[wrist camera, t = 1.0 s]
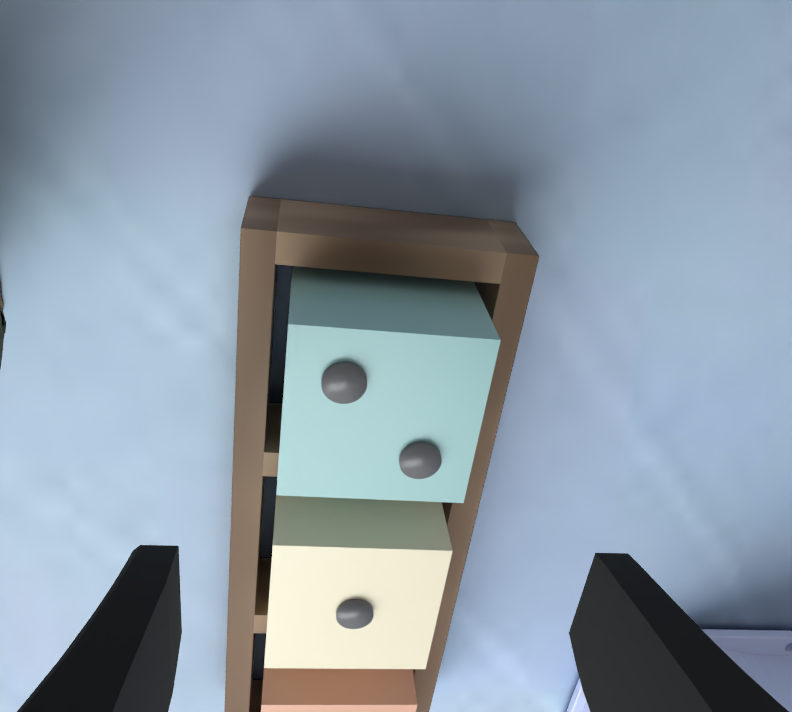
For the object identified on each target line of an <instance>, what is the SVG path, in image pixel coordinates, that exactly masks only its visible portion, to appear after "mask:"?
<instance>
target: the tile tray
mask: <svg viewBox="0 0 792 712" xmlns="http://www.w3.org/2000/svg"><path fill="white" fill-rule="evenodd" d="M538 259H539V255H538V254H537V252H536V251H535V249H534V248H533V247H532V245H531V244H530V242H529V241H528V239H527V238H526V237H525V235H524V234H523V232H522V231H521V230H520V228H519V227H518V225H517V224H516V223H515V222H505V221H495V220H485V219H475V218H465V217H455V216H445V215H435V214H425V213H415V212H405V211H395V210H385V209H375V208H365V207H355V206H345V205H335V204H325V203H315V202H305V201H295V200H285V199H275V198H265V197H255V196H249V198H248V202H247V206H246V210H245V214H244V218H243V222H242V226H241V238H240V268H239V298H238V328H237V357H236V387H235V417H234V447H233V477H232V507H231V537H230V566H229V596H228V626H227V656H226V686H225V712H261V703H262V689H263V680H252V677H253V661H254V644H255V633H266V632H267V618H268V604H269V589H270V575H271V561H272V559H271V558H260V544H261V527H262V510H263V493H264V477H265V476H272V477H277V476H278V462H279V448H280V433H281V419H282V405H283V404H275V403H269V393H270V376H271V360H272V343H273V326H274V309H275V293H276V276H277V265H288V266H300V267H311V268H323V269H334V270H346V271H357V272H369V273H380V274H392V275H403V276H415V277H426V278H438V279H449V280H461V281H472V282H474V283H475V286H476V288H477V290H478V292H479V294H480V296H481V299H482V301H483V303H484V305H485V307H486V309H487V311H488V314H489V316H490V318H491V320H492V322H493V324H494V327H495V329H496V331H497V333H498V335H499V337H500V340H501V341H500V346H499V350H498V354H497V359H496V363H495V367H494V372H493V376H492V381H491V385H490V389H489V394H488V398H487V403H486V407H485V411H484V416H483V420H482V424H481V429H480V433H479V438H478V442H477V446H476V451H475V455H474V459H473V464H472V468H471V473H470V477H469V481H468V486H467V490H466V494H465V499H464V503H450V502H442V506H443V510H444V515H445V519H446V524H447V528H448V533H449V537H450V542H451V546H452V550H453V551H452V556H451V560H450V564H449V569H448V573H447V578H446V582H445V586H444V591H443V595H442V599H441V604H440V608H439V613H438V617H437V621H436V626H435V630H434V634H433V639H432V643H431V648H430V652H429V656H428V661H427V665H426V669H413V675H414V683H415V690H416V698H417V709H416V712H429V710H430V706H431V702H432V697H433V693H434V689H435V685H436V681H437V677H438V673H439V668H440V664H441V660H442V656H443V652H444V648H445V644H446V640H447V635H448V631H449V627H450V623H451V619H452V615H453V611H454V606H455V602H456V598H457V594H458V590H459V586H460V582H461V578H462V573H463V569H464V565H465V561H466V557H467V553H468V549H469V544H470V540H471V536H472V532H473V528H474V524H475V520H476V515H477V511H478V507H479V503H480V499H481V495H482V491H483V487H484V482H485V478H486V474H487V470H488V466H489V462H490V458H491V453H492V449H493V445H494V441H495V437H496V433H497V429H498V425H499V420H500V416H501V412H502V408H503V404H504V400H505V396H506V391H507V387H508V383H509V379H510V375H511V371H512V367H513V363H514V358H515V354H516V350H517V346H518V342H519V338H520V334H521V329H522V325H523V321H524V317H525V313H526V309H527V305H528V301H529V296H530V292H531V288H532V284H533V280H534V276H535V272H536V267H537V263H538Z"/></svg>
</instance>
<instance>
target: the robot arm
mask: <svg viewBox="0 0 792 712" xmlns="http://www.w3.org/2000/svg"><path fill="white" fill-rule="evenodd" d="M181 633H182V629H181V602H180V575H179V547H178V546H155V545H140V546H139V547H137V548H136V549H135V550H133V552H132V554H131V555H130V557H129V559H128V561H127V562H126V564H125V566H124V567H123V569H122V571H121V572H120V574H119V576H118V577H117V579H116V580H115V582H114V584H113V585H112V587H111V588H110V590H109V591H108V593H107V594H106V596H105V597H104V599H103V600H102V602H101V603H100V605H99V606H98V608H97V609H96V611H95V612H94V613H93V615H92V616H91V618H90V619H89V620H88V622H87V623H86V625H85V626H84V627H83V629H82V630H81V631H80V633H79V634H78V635H77V637H76V638H75V640H74V641H73V642H72V644H71V645H70V646H69V648H68V649H67V651H66V652H65V653H64V654H63V656H62V657H61V658H60V660H59V661H58V662H57V663H56V665H55V666H54V667H53V668H52V670H51V671H50V672H49V673H48V675H47V676H46V677H45V678H44V679H43V681H42V682H41V683H40V684H39V686H38V687H37V688H36V689H35V691H34V692H33V693H32V694H31V695H30V697H29V698H28V699H27V700H26V702H25V703H24V704H23V705H22V706H21V707H20V709H19V710H18V711H17V712H168V709H169V705H170V701H171V697H172V693H173V687H174V680H175V674H176V667H177V661H178V654H179V647H180V640H181ZM569 635H570V639H571V644H572V648H573V652H574V657H575V661H576V666H577V670H578V674H579V680H578V683H577V685H576V688H575V690H574V693H573V696H572V698H571V701H570V704H569V706H568V709H567V711H566V712H792V631H784V630H721V629H701V628H700V627H699V626H698V625H697V624H696V623H695V622H694V621H693V620H692V619H691V618H690V617H689V616H688V615H687V614H686V613H685V612H684V611H683V610H682V609H681V608H680V607H679V606H678V605H677V604H676V603H675V602H674V601H673V600H672V599H671V597H670V596H669V595H668V594H667V593H666V592H665V591H664V590H663V589H662V588H661V587H660V586H659V585H658V584H657V583H656V582H655V581H654V580H653V579H652V578H651V577H650V576H649V574H648V573H647V572H646V571H645V570H644V569H643V568H642V567H641V566H640V565H639V564H638V563H637V562H636V561H635V560H634V559H633V558H632V557H631V556H630V555H629V554H620V553H595V556H594V559H593V562H592V565H591V568H590V571H589V574H588V577H587V580H586V583H585V586H584V589H583V592H582V595H581V598H580V601H579V604H578V607H577V610H576V613H575V616H574V619H573V622H572V625H571V628H570V632H569Z"/></svg>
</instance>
